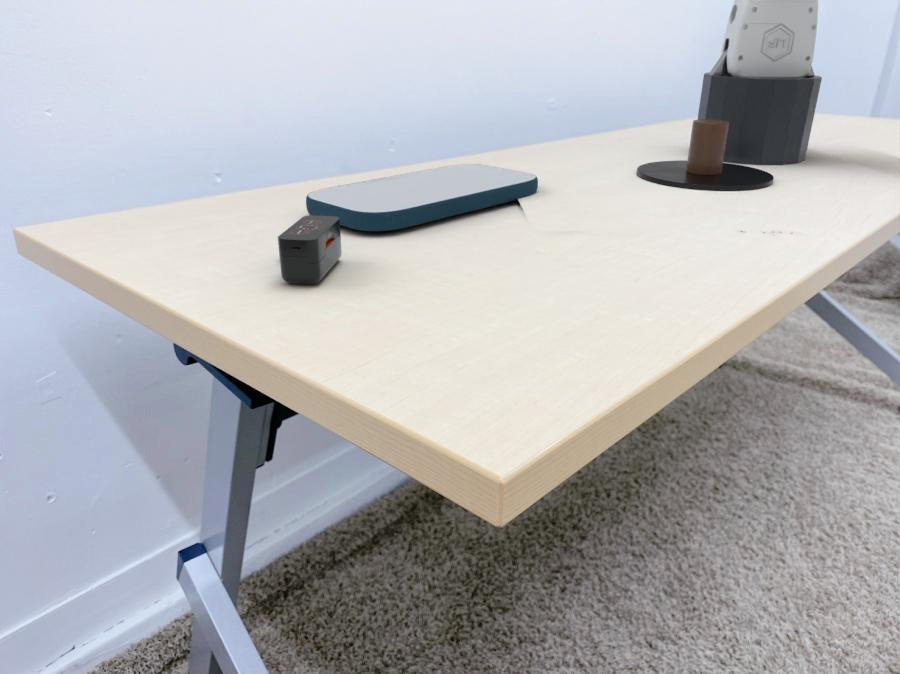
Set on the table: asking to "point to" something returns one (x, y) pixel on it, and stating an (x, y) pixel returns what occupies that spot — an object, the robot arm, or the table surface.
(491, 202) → the grey flat rounded slab
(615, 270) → the table surface
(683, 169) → the lid
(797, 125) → the pot
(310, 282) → the dark grey box
